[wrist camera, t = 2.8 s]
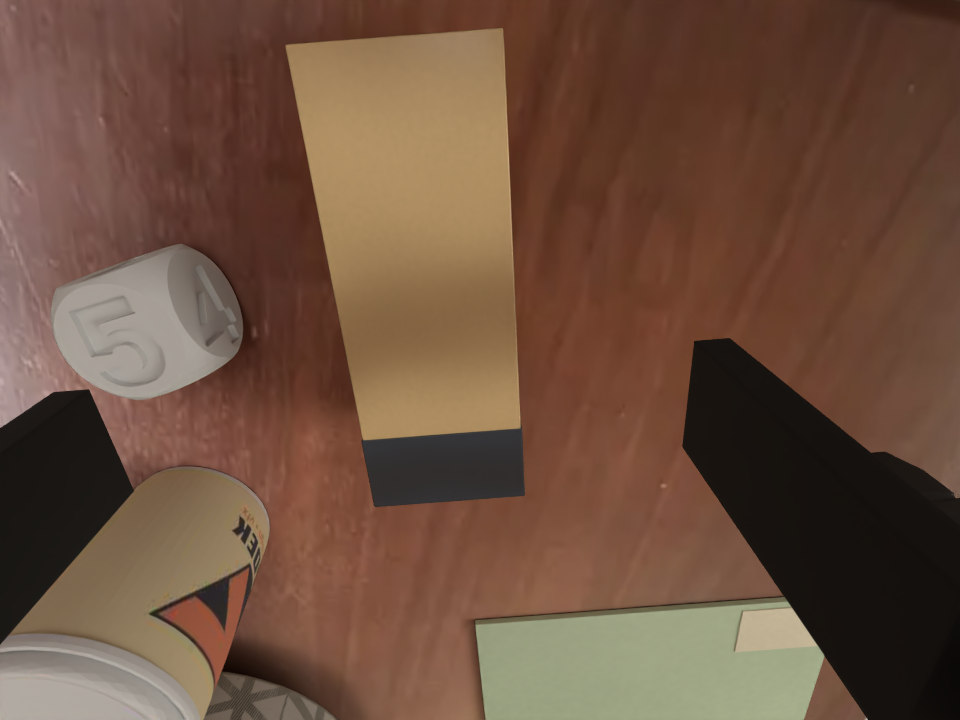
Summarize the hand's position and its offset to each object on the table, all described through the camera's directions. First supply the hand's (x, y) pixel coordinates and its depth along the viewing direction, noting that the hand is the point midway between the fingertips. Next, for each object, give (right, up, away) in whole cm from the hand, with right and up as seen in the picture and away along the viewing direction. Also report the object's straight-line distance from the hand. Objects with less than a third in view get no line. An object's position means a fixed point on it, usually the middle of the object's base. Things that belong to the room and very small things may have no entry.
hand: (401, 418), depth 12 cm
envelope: (+14, -21, +25) cm, 36 cm away
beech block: (0, +6, +12) cm, 14 cm away
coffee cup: (-14, -8, +18) cm, 25 cm away
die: (-12, +4, +13) cm, 18 cm away
